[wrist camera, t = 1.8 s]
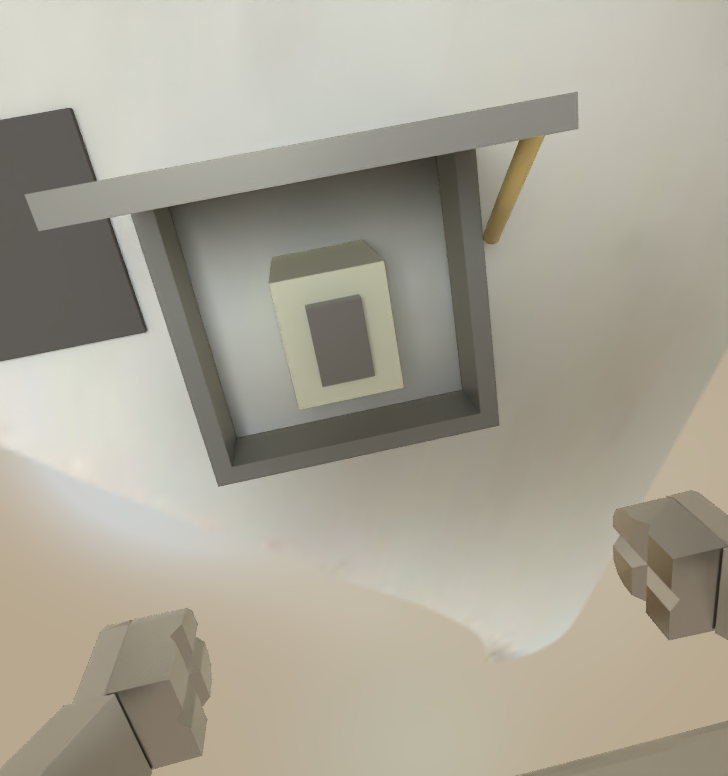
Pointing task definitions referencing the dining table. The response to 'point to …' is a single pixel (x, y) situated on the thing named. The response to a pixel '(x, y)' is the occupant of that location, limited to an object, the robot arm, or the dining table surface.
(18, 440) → the dining table surface
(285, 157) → the case
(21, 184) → the mat
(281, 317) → the block
